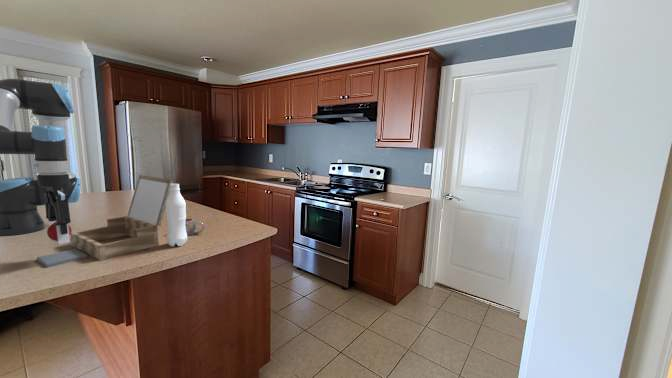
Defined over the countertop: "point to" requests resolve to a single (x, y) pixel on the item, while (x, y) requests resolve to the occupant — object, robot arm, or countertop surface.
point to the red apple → (55, 232)
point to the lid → (150, 199)
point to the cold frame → (137, 229)
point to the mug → (192, 227)
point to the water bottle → (176, 217)
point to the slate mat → (61, 257)
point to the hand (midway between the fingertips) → (60, 241)
